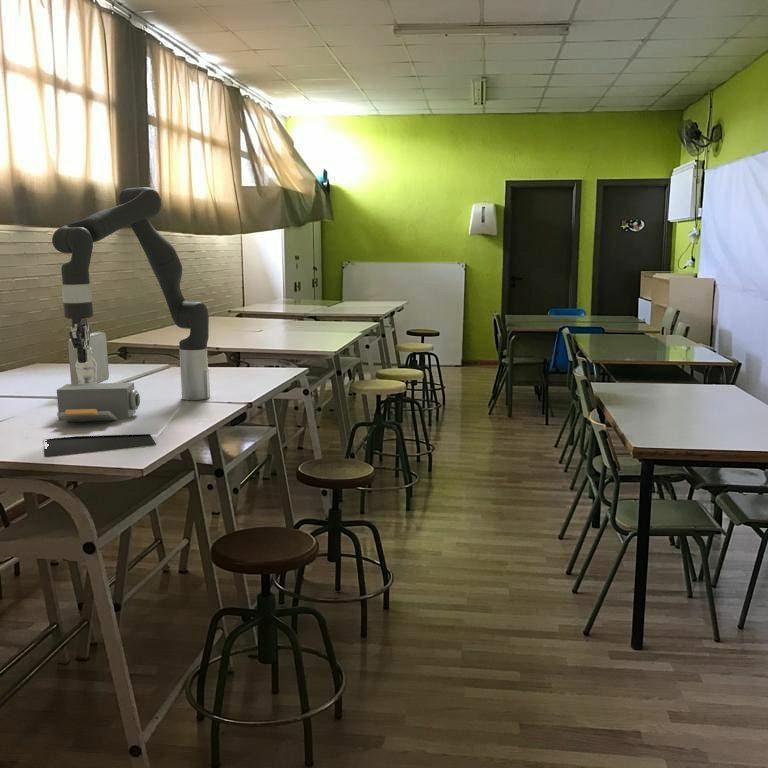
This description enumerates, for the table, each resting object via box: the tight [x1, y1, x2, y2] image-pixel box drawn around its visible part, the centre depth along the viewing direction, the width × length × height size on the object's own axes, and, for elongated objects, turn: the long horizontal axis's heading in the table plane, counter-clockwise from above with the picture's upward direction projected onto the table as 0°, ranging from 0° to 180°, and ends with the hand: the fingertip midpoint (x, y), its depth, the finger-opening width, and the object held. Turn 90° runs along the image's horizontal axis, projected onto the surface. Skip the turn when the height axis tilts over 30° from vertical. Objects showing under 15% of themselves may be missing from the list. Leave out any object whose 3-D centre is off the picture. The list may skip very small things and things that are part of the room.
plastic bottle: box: [75, 348, 97, 384], centre depth 239 cm, size 6×7×20 cm
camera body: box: [56, 382, 141, 422], centre depth 228 cm, size 22×10×10 cm, turn 96°
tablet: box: [43, 433, 157, 458], centre depth 200 cm, size 27×1×20 cm
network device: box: [67, 332, 110, 384], centre depth 277 cm, size 26×9×20 cm, turn 179°
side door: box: [56, 409, 119, 423], centre depth 217 cm, size 14×1×13 cm
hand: (82, 362), depth 212 cm, fingers closed
